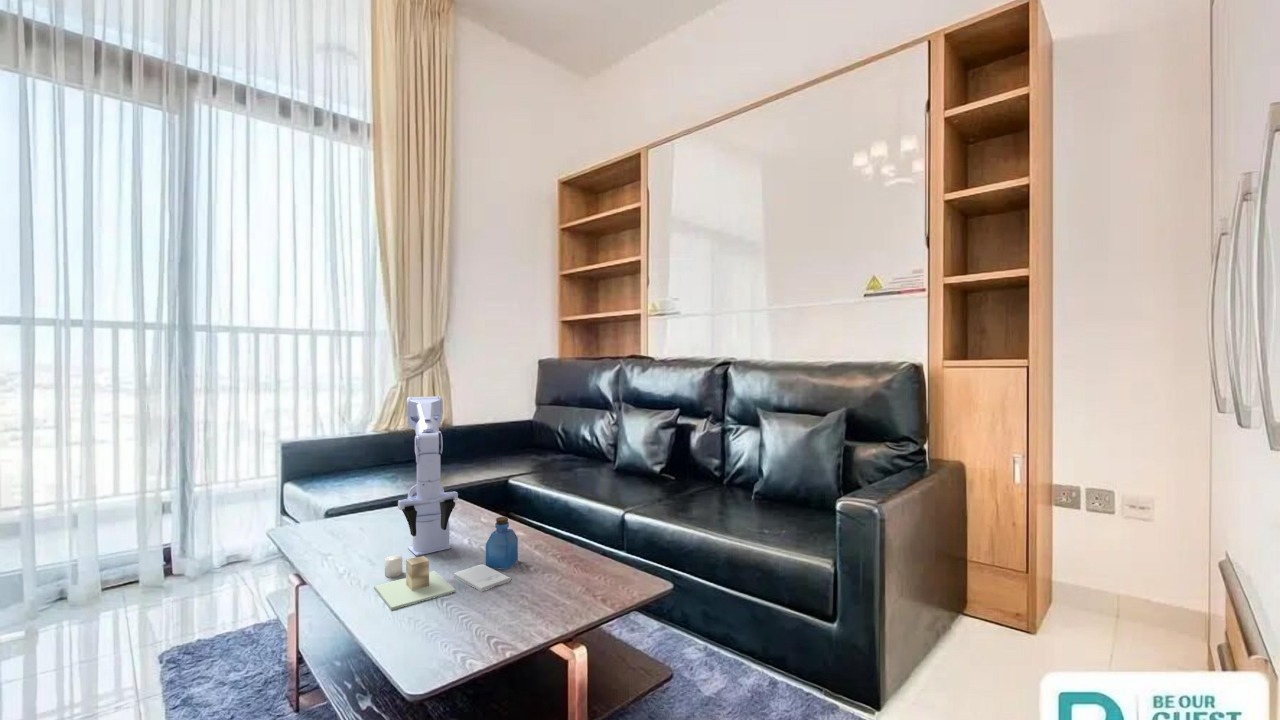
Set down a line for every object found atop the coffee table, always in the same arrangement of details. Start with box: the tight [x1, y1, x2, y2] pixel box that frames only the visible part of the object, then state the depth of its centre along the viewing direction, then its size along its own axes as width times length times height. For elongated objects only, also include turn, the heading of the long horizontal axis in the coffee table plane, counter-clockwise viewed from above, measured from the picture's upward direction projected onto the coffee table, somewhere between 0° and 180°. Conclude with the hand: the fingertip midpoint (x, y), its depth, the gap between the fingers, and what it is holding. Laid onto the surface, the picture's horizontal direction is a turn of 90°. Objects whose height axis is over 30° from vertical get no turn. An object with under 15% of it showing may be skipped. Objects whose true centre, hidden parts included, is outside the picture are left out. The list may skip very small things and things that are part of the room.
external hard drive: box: [453, 563, 512, 592], centre depth 135 cm, size 2×8×12 cm
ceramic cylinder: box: [384, 554, 403, 578], centre depth 137 cm, size 4×4×4 cm
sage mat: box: [373, 570, 456, 611], centre depth 128 cm, size 14×14×1 cm
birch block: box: [405, 555, 430, 591], centre depth 129 cm, size 4×4×6 cm
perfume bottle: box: [485, 516, 519, 570], centre depth 144 cm, size 6×6×12 cm
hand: (428, 532), depth 141 cm, fingers open, 7 cm apart
